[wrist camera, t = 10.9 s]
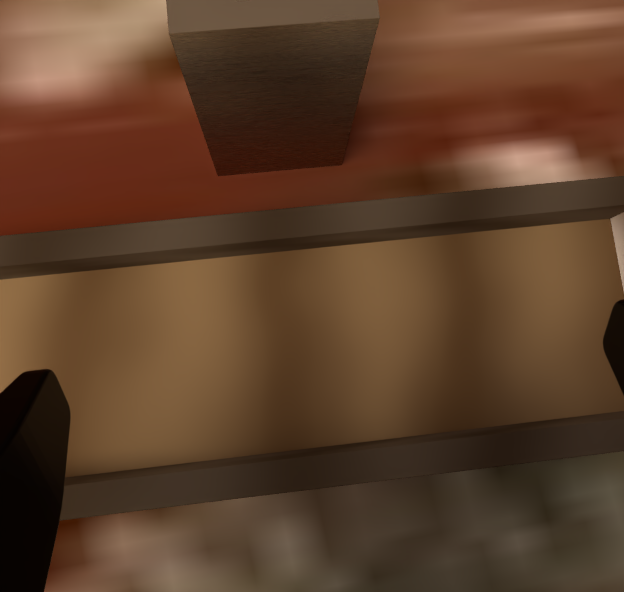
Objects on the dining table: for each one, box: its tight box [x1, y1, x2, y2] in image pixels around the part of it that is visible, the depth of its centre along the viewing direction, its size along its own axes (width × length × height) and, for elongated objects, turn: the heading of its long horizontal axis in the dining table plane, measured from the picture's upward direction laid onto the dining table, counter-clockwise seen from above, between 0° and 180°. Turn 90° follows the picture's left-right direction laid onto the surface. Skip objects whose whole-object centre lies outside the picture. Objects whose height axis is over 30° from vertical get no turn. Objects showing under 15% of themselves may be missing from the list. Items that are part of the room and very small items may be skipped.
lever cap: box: [166, 0, 380, 176], centre depth 19 cm, size 4×5×10 cm
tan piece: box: [0, 176, 624, 520], centre depth 21 cm, size 24×9×4 cm, turn 96°
